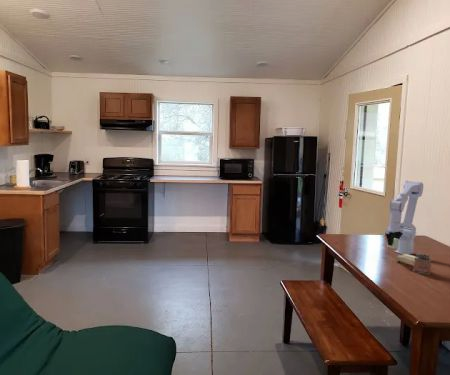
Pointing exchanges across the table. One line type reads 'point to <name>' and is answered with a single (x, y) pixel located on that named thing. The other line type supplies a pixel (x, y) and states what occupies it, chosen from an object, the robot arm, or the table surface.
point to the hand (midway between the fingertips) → (392, 244)
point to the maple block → (406, 259)
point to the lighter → (422, 264)
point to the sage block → (394, 243)
